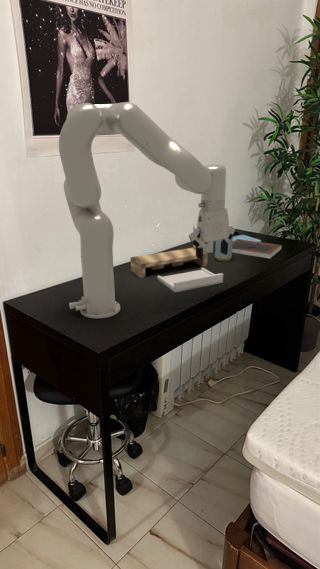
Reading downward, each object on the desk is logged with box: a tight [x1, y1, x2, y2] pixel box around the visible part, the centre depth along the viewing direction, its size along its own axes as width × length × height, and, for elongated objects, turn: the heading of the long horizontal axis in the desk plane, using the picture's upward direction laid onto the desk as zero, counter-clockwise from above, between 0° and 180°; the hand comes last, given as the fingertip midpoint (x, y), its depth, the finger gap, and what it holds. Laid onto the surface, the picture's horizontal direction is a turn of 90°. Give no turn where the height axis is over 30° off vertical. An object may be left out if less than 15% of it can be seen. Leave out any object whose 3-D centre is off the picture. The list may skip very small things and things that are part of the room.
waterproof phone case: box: [232, 234, 262, 242], centre depth 205 cm, size 14×12×1 cm
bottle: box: [214, 223, 234, 262], centre depth 175 cm, size 7×7×15 cm
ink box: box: [192, 223, 214, 254], centre depth 187 cm, size 9×9×12 cm
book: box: [232, 239, 282, 260], centre depth 189 cm, size 16×2×22 cm
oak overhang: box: [130, 247, 209, 279], centre depth 166 cm, size 30×10×6 cm, turn 116°
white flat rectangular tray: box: [156, 267, 224, 293], centre depth 153 cm, size 20×14×4 cm
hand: (211, 256), depth 138 cm, fingers open, 9 cm apart
